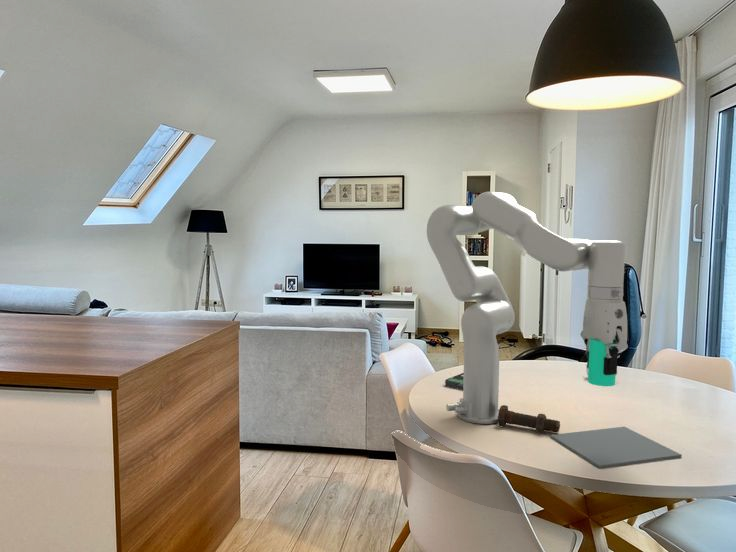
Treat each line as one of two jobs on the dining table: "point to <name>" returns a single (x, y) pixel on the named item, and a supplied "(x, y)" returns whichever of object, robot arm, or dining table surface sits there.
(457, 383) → the disk drive
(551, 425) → the bolt
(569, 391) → the dining table surface
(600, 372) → the candle
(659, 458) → the mat
